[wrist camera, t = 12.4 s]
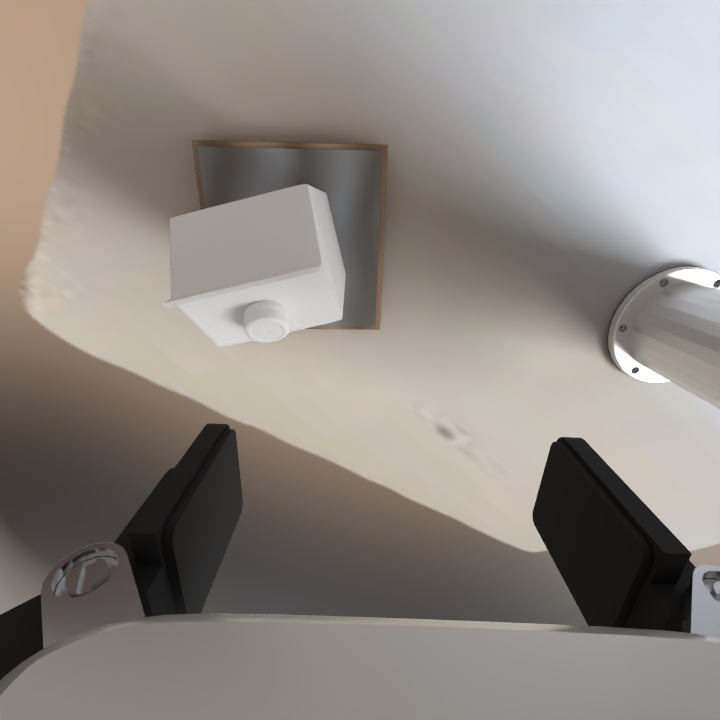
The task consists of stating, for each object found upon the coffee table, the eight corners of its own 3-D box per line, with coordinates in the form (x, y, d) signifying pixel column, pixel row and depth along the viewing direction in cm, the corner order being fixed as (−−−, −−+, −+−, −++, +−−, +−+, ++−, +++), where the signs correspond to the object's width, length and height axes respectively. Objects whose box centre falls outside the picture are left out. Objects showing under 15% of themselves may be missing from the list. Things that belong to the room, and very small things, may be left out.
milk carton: (246, 212, 32) (123, 221, 15) (326, 192, 32) (296, 176, 14) (272, 291, 35) (193, 379, 18) (346, 274, 35) (341, 346, 17)
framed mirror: (385, 149, 33) (388, 144, 31) (378, 322, 40) (380, 330, 37) (203, 144, 33) (189, 139, 30) (225, 320, 39) (215, 328, 36)
